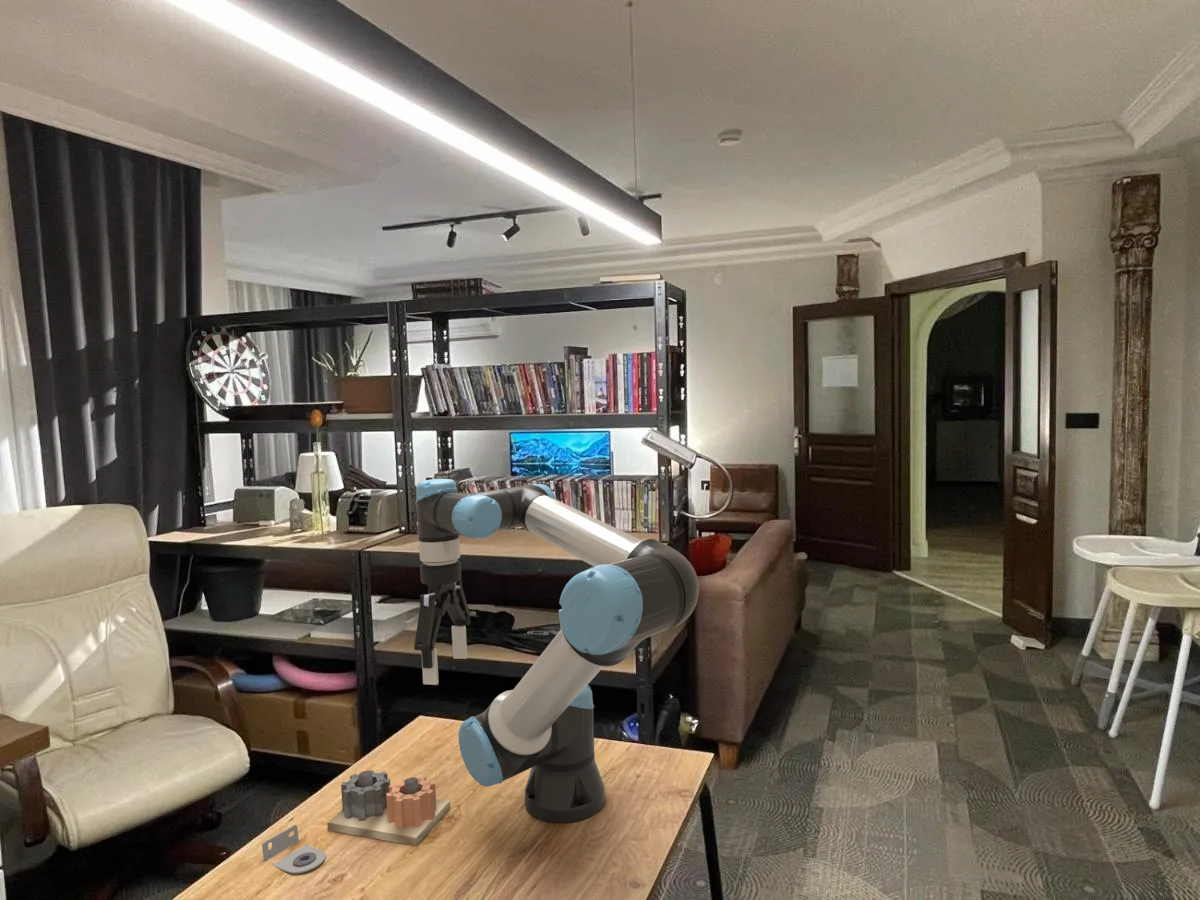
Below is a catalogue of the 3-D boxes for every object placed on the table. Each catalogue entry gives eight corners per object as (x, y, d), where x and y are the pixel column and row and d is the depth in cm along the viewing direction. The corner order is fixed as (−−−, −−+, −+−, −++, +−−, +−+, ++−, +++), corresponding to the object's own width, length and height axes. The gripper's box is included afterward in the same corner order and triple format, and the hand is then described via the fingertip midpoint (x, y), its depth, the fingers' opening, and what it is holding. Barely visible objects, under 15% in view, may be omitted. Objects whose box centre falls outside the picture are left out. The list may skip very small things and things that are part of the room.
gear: (438, 800, 144) (437, 775, 143) (432, 826, 135) (431, 799, 135) (392, 804, 143) (391, 778, 142) (384, 830, 135) (382, 802, 134)
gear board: (450, 808, 144) (448, 767, 143) (416, 845, 132) (414, 801, 132) (367, 795, 149) (364, 756, 148) (327, 830, 138) (325, 787, 137)
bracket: (300, 882, 124) (298, 861, 124) (263, 862, 129) (261, 843, 129) (334, 860, 129) (332, 840, 129) (297, 842, 135) (295, 823, 135)
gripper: (448, 547, 158) (454, 647, 160) (390, 576, 134) (397, 694, 136) (483, 547, 157) (488, 649, 158) (430, 577, 132) (436, 697, 134)
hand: (446, 670), depth 147 cm, fingers open, 13 cm apart
